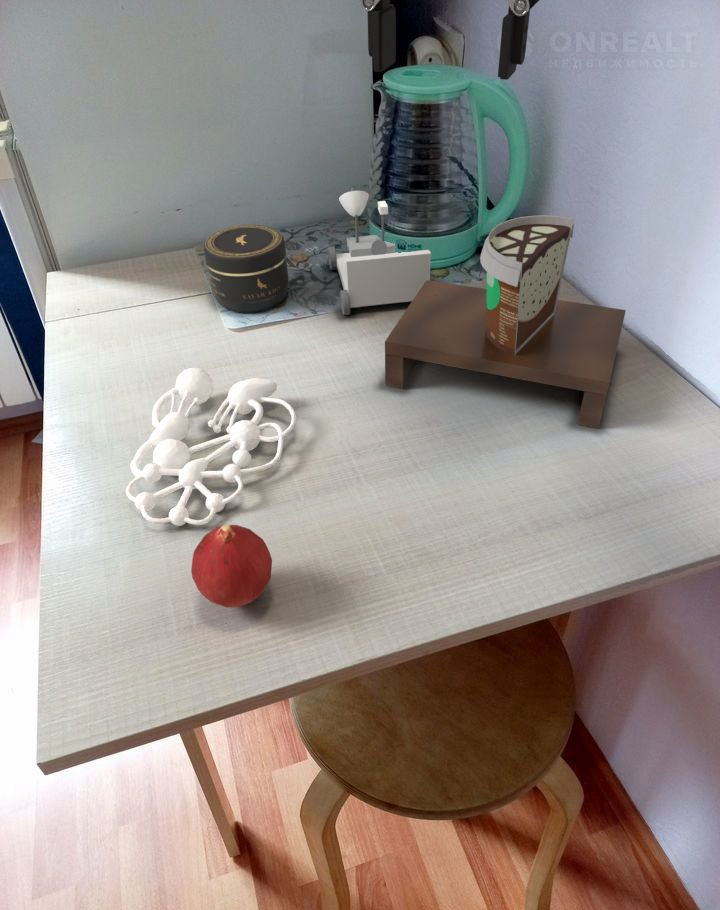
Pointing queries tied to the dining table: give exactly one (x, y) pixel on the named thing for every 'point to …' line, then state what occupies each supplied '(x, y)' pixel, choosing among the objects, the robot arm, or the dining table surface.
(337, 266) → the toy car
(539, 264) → the food container
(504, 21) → the robot arm
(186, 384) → the tangled rod sculpture
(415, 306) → the shelf
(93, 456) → the dining table surface
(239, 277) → the jar
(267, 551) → the onion
